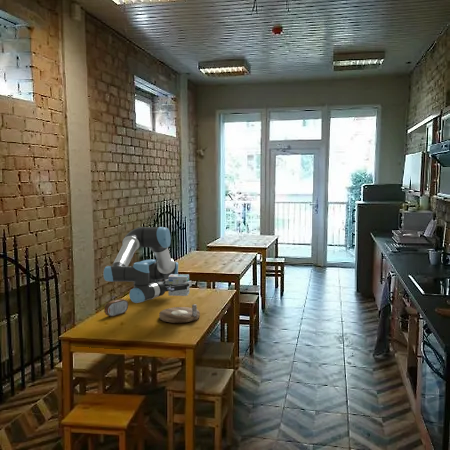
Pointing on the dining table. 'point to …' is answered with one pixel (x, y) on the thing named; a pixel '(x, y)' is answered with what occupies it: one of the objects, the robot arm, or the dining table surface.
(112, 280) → the robot arm
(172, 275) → the light bulb box
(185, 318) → the brown wide round piece
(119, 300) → the tin
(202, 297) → the dining table surface
